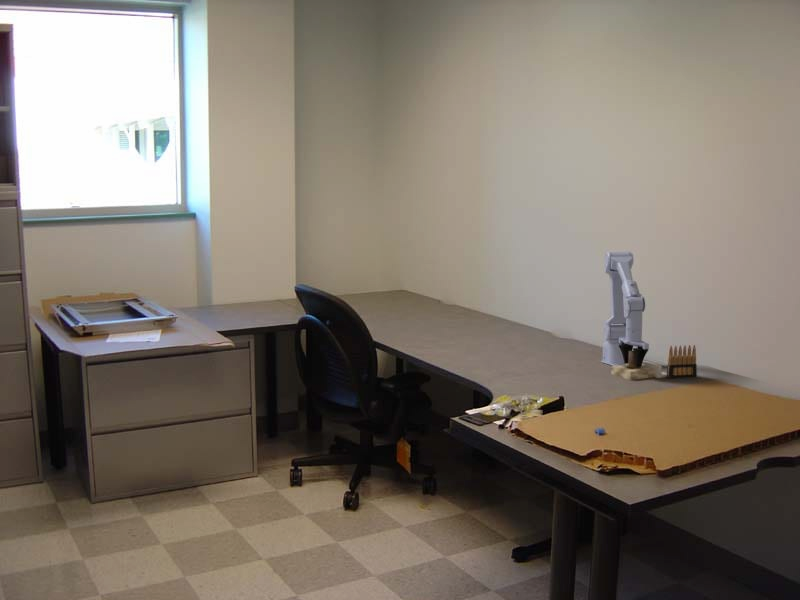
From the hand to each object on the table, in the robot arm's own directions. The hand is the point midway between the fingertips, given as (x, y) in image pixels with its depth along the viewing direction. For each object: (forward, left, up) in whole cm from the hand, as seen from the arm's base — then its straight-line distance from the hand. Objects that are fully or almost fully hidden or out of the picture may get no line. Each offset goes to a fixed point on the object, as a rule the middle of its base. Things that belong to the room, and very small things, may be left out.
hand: (632, 365), depth 317 cm
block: (0, 0, -4) cm, 4 cm away
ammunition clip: (+11, +14, -4) cm, 18 cm away
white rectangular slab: (-1, +8, -4) cm, 9 cm away
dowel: (0, 0, -4) cm, 4 cm away
